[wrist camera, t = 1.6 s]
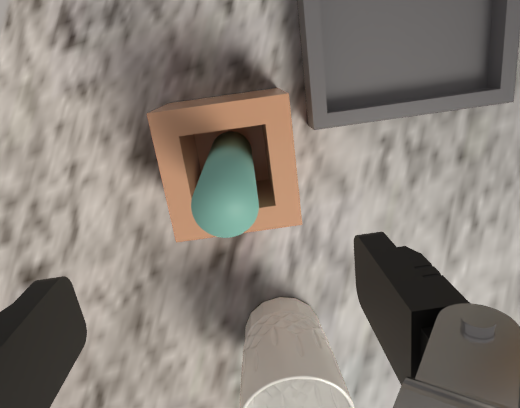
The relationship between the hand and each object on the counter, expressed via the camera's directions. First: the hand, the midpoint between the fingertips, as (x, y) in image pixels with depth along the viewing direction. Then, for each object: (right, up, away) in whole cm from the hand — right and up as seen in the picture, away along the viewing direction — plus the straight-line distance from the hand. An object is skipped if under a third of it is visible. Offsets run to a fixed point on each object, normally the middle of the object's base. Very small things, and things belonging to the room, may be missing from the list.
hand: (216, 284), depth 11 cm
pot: (-1, +6, +18) cm, 20 cm away
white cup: (+3, -9, +24) cm, 26 cm away
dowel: (-1, +6, +17) cm, 19 cm away
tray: (+11, +15, +16) cm, 24 cm away
